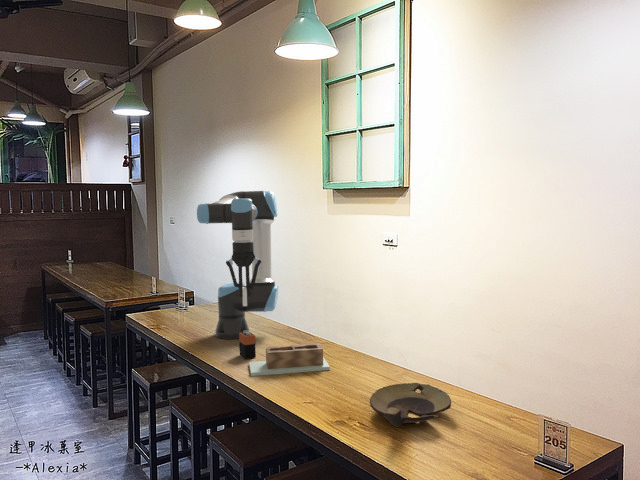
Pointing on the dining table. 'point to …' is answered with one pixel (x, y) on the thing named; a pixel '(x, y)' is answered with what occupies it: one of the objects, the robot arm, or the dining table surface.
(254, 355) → the battery
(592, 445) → the dining table surface
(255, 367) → the board
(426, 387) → the broken dish
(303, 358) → the divided compartment tray
